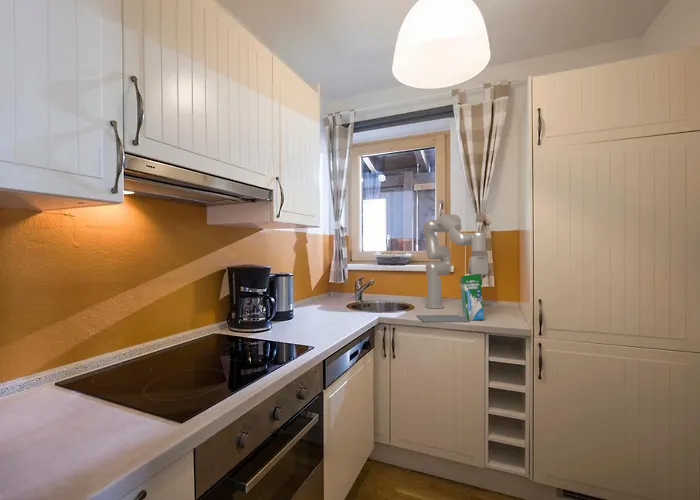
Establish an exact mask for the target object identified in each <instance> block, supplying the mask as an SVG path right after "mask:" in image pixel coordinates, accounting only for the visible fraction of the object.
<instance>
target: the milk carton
mask: <svg viewBox="0 0 700 500" xmlns="http://www.w3.org/2000/svg"><path fill="white" fill-rule="evenodd" d="M459 284H460V295H461V296H460V297H461V305H462V306H461V307H462V308H461V309H462V317H463V318H465V319H467V320H469V321H480V320H481V321H482V320H485V315H484V313H485V312H484V303H483V302H484V301H483V292H482V286H481V279H480V274H477V275H474V274H473V275H469V273H468V274H464V275H462V276H461V277H460V278H459Z"/></svg>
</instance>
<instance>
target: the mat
mask: <svg viewBox="0 0 700 500" xmlns="http://www.w3.org/2000/svg"><path fill="white" fill-rule="evenodd" d="M416 316H417V317H418V319H419V320H420V321H421V322H422V323H470V320H467V319H465V318H464V317H463V315H462V316H461V315H460V314H428V315H427V314H424V315H423V314H421V315H419V314H416ZM416 316H415V317H416ZM417 317H416V318H417Z"/></svg>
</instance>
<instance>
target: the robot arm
mask: <svg viewBox="0 0 700 500" xmlns="http://www.w3.org/2000/svg"><path fill="white" fill-rule="evenodd" d="M461 223H462V220H461V217H460V216H459V215H457V214H450V213H449V214H448V213H445V214H442V215H440V216H439V217H438V219H428V220H426V221H425V222H424V223H423V229H422V230H423V235H424V239H425V248H426V256H427V258H428V259H430V260H431V261H428V262H427V263H426V264H425V271H426V283H427V284H426V285H427V286H426V287H427V289H426V290H427V291H426V292H427V295H426V296H427V298H426V300H427V301H426V303H427V304H425V305H424V307H425V308H428V309H434V310H435V309H437V310H438V309H444V308H445V305H443V301H442V298H443V297H442V294H443V293H442V292H443V291H442V288H443V287H442V284H443V283H442V279H441V277H440V276H445V275H449V274H450V273H451V272H452V271H451V270H452V264H451V253H450V252H451V251H450V250H449V248H448V247H447V246H445V245H440V244H439V238H438V236H437V235H436V234H435V233H448V237H449V239H450V241H451V242H453V243H454V244H455V245H457V246H461V247H464V246H465V247H466V246H467V247H468V246H469V247H470V248H471V250H470V251H471V252H470V253H471V254H470V256H469V260H468V268H467V269H468V274H469V275H477V274H480V279H481V287H482V286H483V280H484V279H485V278H487V277H489V271H490V269H489V268H490V267H489V261H488V260H489V259H488V257H487V255H489V252H487V247H486V246H487V243H486V240H487V239H486V238H487V237H486V233H484V232H461V230H462V224H461ZM433 260H434V261H433Z"/></svg>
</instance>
